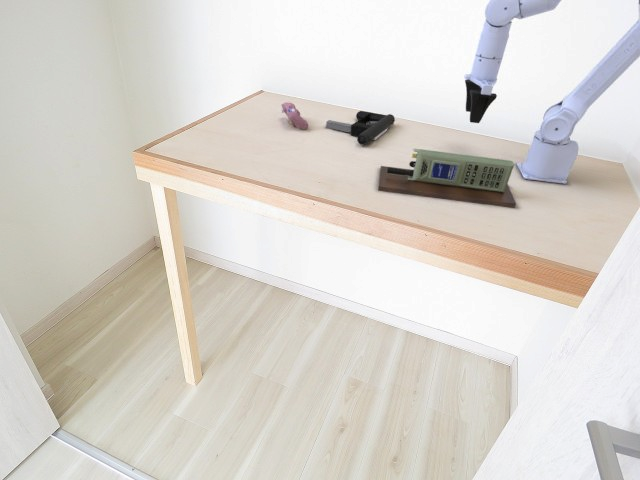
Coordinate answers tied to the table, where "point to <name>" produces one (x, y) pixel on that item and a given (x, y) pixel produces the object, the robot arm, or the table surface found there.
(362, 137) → the door handle
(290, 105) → the pink rounded piece
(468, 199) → the walnut board
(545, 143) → the robot arm
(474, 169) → the handheld radio
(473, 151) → the table surface
